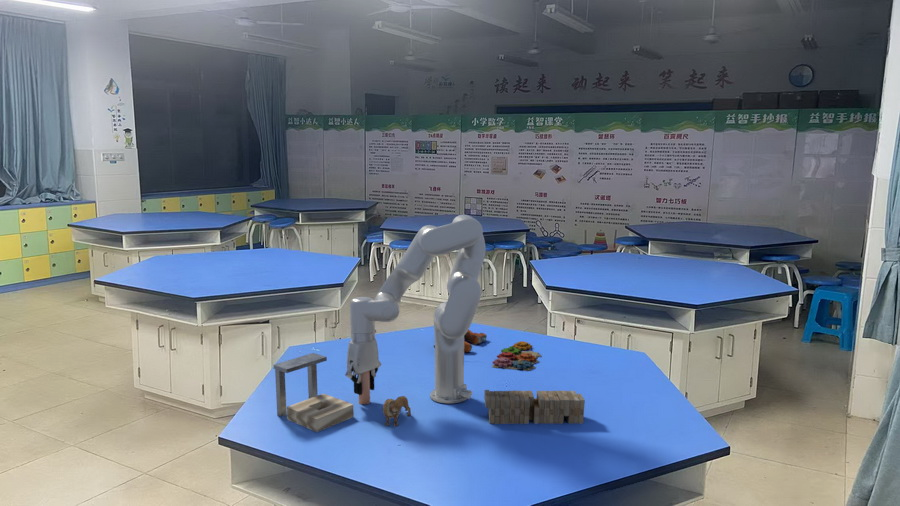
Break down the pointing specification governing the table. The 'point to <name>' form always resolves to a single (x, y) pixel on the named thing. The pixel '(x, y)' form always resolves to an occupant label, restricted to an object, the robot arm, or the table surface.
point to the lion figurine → (395, 408)
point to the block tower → (534, 407)
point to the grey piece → (294, 365)
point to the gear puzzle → (517, 357)
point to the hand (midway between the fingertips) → (364, 390)
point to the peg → (365, 388)
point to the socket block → (320, 412)
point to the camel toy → (473, 340)
